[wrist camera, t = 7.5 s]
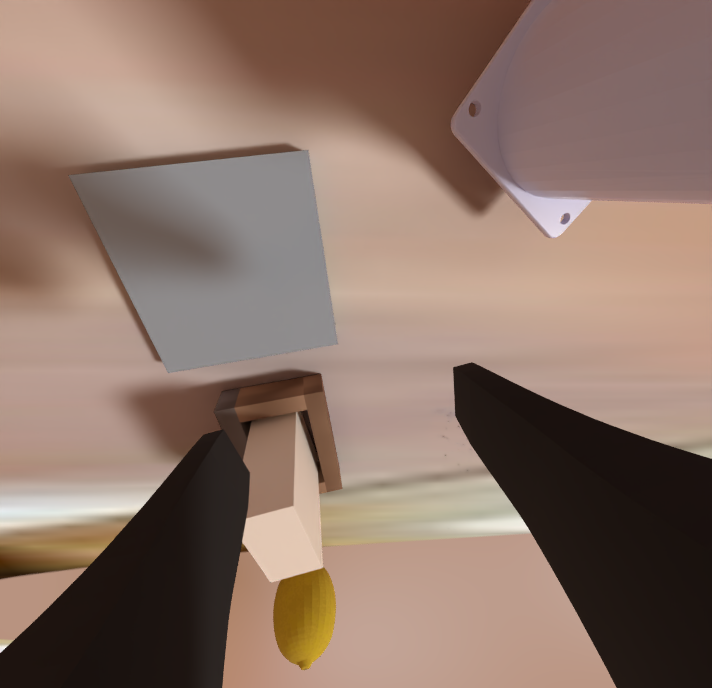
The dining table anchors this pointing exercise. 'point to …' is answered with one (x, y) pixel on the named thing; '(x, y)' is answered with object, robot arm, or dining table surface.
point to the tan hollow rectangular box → (278, 400)
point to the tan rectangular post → (283, 497)
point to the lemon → (304, 616)
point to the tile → (217, 255)
